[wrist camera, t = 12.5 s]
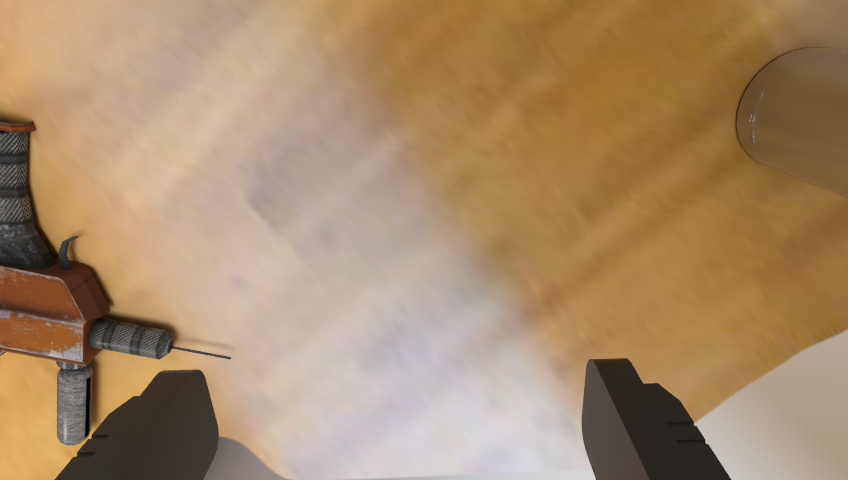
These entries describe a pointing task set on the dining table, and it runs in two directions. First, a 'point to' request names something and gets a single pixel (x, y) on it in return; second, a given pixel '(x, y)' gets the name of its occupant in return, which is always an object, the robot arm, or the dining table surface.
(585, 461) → the dining table surface
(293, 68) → the dining table surface
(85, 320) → the tool
